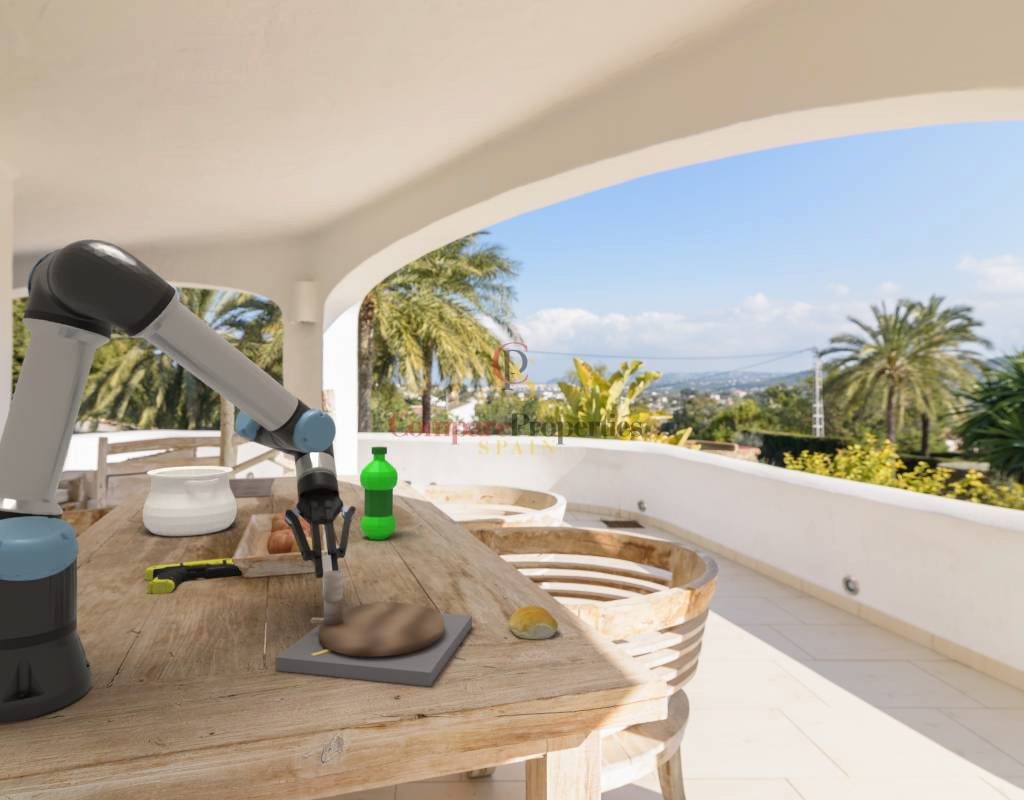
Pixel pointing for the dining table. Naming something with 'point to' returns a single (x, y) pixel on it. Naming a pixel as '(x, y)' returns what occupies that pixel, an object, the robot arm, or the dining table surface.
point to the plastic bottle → (378, 496)
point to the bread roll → (533, 623)
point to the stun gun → (187, 573)
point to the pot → (189, 501)
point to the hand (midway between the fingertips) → (329, 592)
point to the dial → (374, 624)
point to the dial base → (377, 658)
